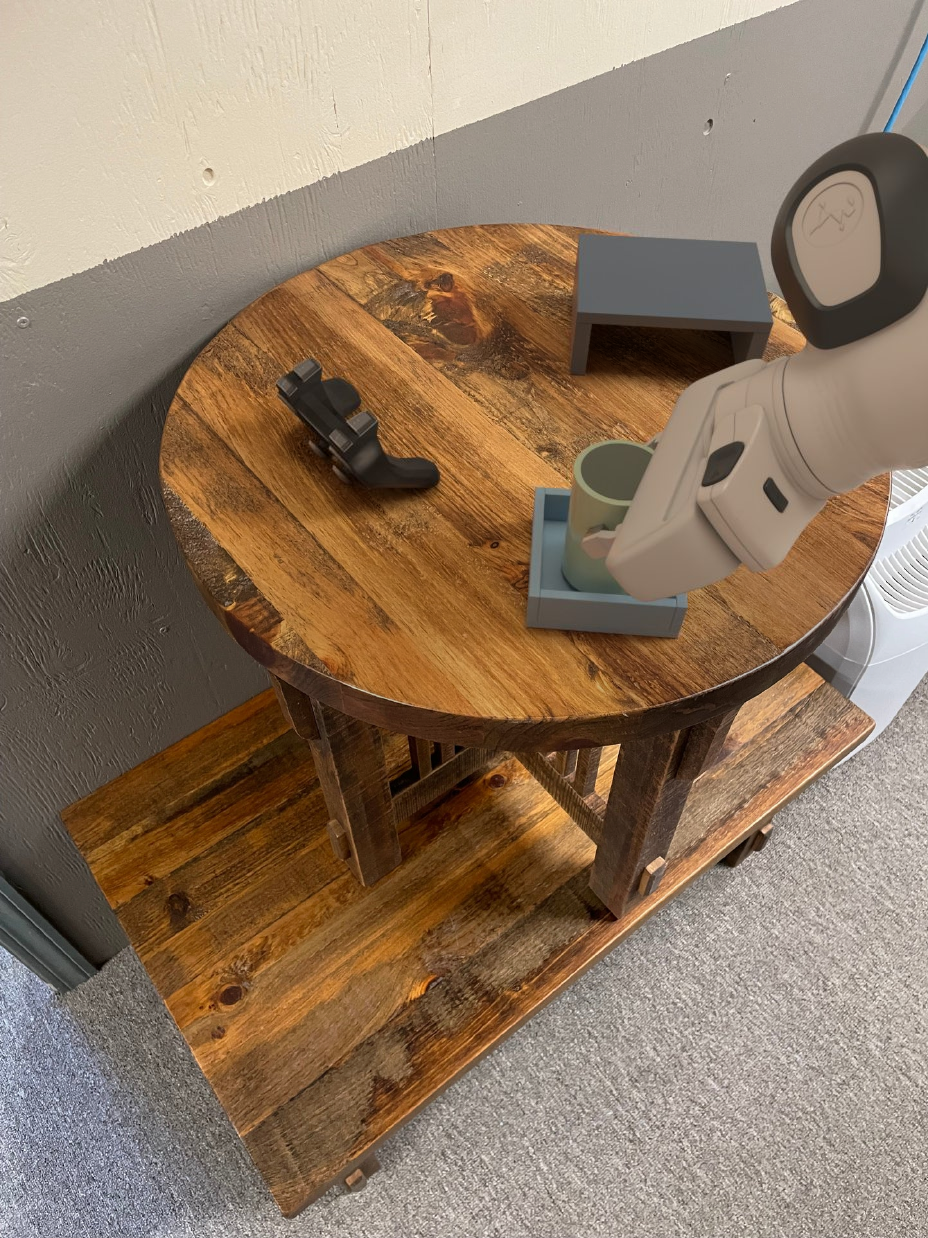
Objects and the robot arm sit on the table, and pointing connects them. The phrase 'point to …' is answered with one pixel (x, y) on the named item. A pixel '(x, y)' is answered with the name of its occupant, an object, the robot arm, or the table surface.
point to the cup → (600, 507)
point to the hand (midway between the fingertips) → (606, 508)
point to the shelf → (669, 290)
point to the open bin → (582, 611)
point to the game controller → (349, 431)
